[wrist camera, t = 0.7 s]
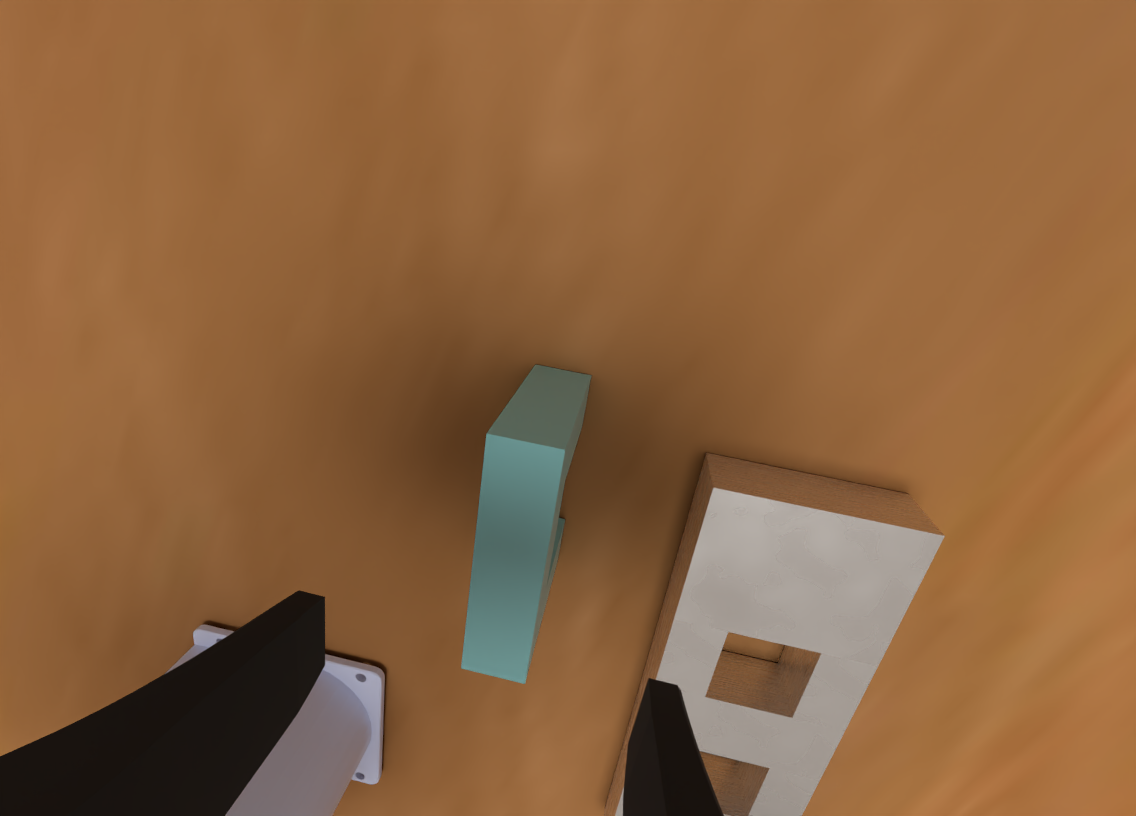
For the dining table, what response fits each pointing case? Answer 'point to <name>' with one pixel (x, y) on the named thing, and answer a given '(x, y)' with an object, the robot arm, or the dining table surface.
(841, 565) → the white slotted slab
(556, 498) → the teal rectangular plank
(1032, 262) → the dining table surface
